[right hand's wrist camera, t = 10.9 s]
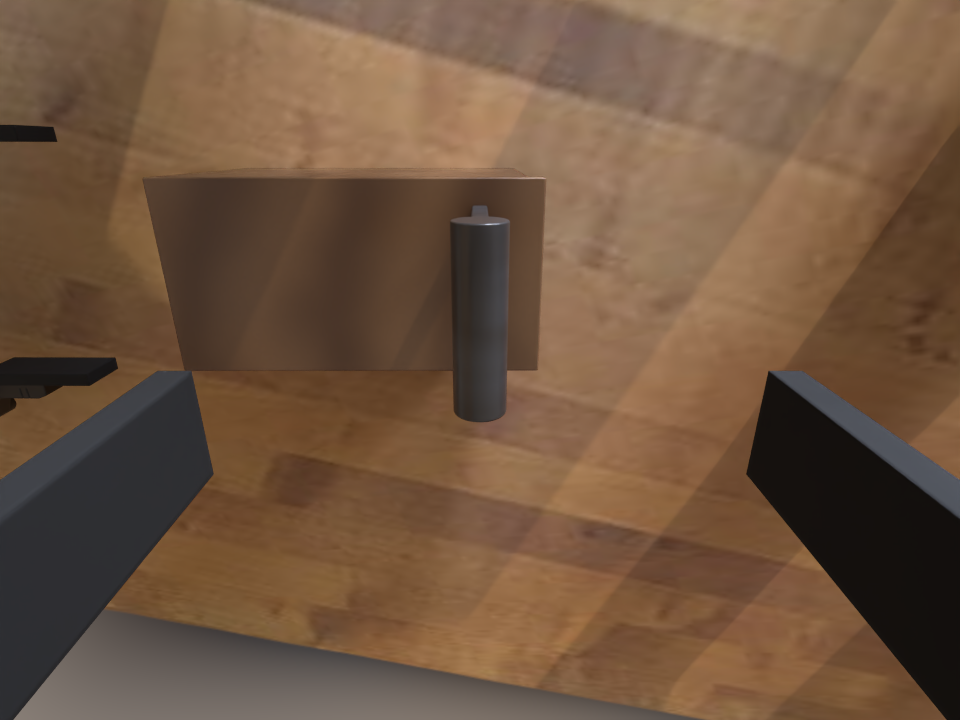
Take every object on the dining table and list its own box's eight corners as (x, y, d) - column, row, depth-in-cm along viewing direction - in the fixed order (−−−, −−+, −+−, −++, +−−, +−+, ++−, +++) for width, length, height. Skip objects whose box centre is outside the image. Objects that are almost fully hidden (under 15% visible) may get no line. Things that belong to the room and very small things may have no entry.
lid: (544, 176, 25) (574, 189, 17) (536, 364, 28) (558, 447, 20) (152, 176, 25) (2, 190, 17) (192, 364, 28) (83, 447, 20)
